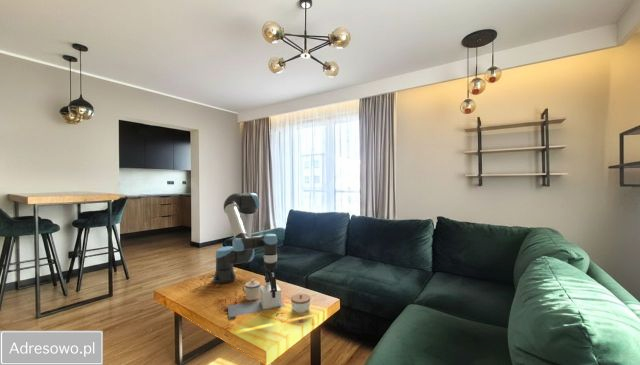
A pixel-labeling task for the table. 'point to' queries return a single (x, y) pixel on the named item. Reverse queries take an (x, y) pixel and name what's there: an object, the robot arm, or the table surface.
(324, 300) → the table surface
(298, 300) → the lidded jar
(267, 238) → the robot arm
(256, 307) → the board
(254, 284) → the teacup with lid
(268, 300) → the block
